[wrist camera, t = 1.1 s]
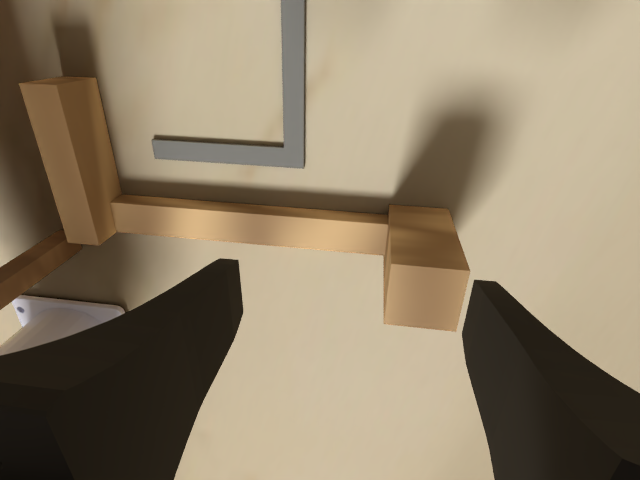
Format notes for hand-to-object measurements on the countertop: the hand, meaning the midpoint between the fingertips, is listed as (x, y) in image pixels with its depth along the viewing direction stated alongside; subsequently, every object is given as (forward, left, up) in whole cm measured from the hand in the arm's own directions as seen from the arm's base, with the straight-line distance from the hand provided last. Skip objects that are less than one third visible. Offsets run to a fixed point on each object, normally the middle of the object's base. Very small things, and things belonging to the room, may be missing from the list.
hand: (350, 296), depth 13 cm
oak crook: (+1, +6, -10) cm, 11 cm away
